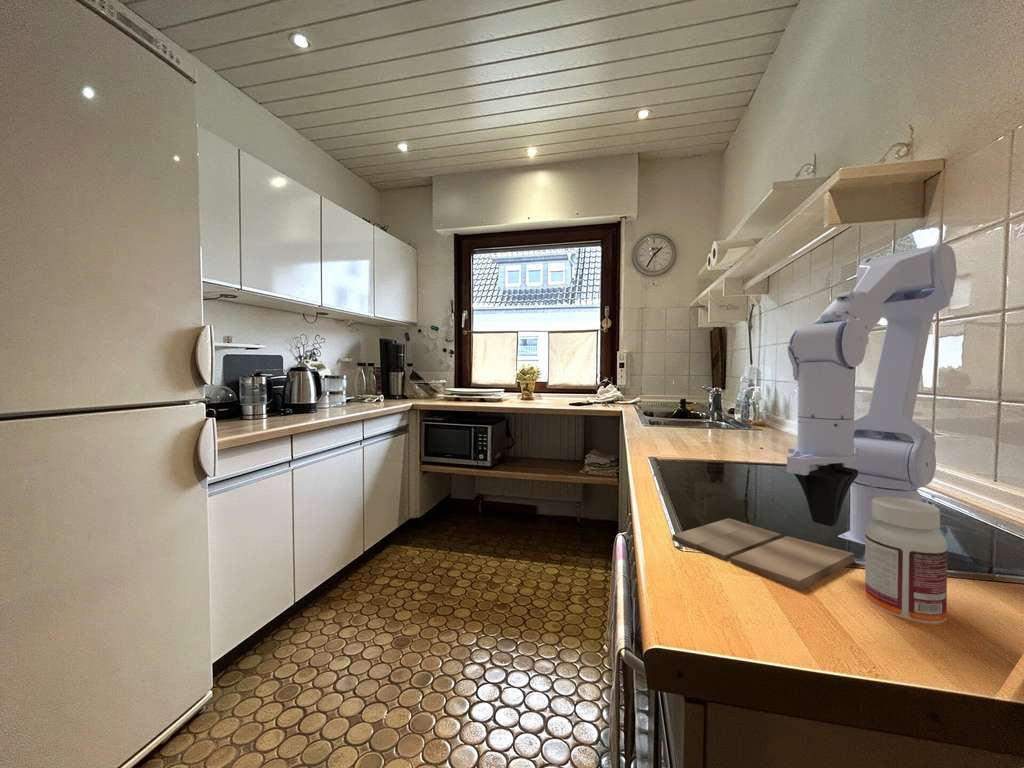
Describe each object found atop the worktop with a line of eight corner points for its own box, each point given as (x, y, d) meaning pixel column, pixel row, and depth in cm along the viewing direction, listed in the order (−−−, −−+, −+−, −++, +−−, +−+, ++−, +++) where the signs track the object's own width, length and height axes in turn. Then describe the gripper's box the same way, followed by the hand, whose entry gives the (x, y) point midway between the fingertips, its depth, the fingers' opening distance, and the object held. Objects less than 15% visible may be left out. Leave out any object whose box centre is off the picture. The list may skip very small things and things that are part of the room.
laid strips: (728, 525, 67) (728, 518, 67) (785, 543, 60) (785, 535, 60) (672, 542, 60) (672, 534, 60) (728, 566, 53) (729, 557, 53)
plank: (787, 544, 59) (786, 536, 60) (854, 562, 53) (854, 553, 53) (730, 567, 52) (730, 557, 52) (799, 591, 45) (799, 580, 46)
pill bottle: (945, 611, 42) (947, 503, 42) (947, 637, 38) (949, 518, 38) (867, 589, 47) (868, 491, 47) (861, 611, 43) (862, 503, 42)
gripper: (816, 412, 59) (815, 505, 59) (761, 417, 52) (760, 524, 52) (878, 416, 53) (877, 519, 53) (826, 423, 46) (825, 543, 46)
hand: (824, 523), depth 52 cm, fingers closed
